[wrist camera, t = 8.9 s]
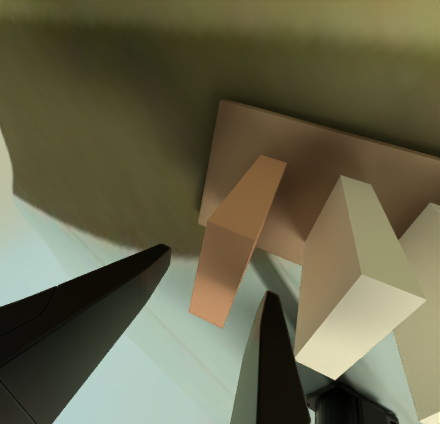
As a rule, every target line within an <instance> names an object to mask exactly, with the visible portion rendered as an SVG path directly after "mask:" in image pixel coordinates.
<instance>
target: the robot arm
mask: <svg viewBox="0 0 440 424" xmlns="http://www.w3.org/2000/svg"><path fill="white" fill-rule="evenodd" d="M170 260H171V247H169V246H167V245H164V244H158V245H156V246H153V247H151V248H149V249H146V250H144V251H141V252H139V253H136V254H134V255H131V256H129V257H126V258H124V259H121V260H119V261H116V262H114V263H111V264H109V265H107V266H104V267H102V268H99V269H97V270H94V271H92V272H89V273H87V274H84V275H82V276H79V277H77V278H74V279H72V280H70V281H67V282H65V283H62V284H60V285H58V287H57V286H55V287H52V288H50V289H47V290H45V291H42V292H40V293H37V294H34V295H32V296H29V297H26V298H24V299H21V300H19V301H16V302H13V303H10V304H7V305H4V306H1V307H0V424H52V423H53V422H54V421H55V419H56V418H57V417H58V416H59V414H60V413H61V412H62V410H63V409H64V408H65V407H66V405H67V404H68V403H69V401H70V400H71V399H72V398H73V396H74V395H75V394H76V393H77V391H78V390H79V389H80V387H81V386H82V385H83V383H84V382H85V381H86V380H87V378H88V377H89V376H90V375H91V373H92V372H93V371H94V370H95V368H96V367H97V366H98V364H99V363H100V362H101V361H102V359H103V358H104V357H105V355H106V354H107V353H108V352H109V350H110V349H111V348H112V347H113V345H114V344H115V342H116V341H117V340H118V339H119V337H120V336H121V335H122V334H123V332H124V331H125V330H126V329H127V327H128V326H129V325H130V324H131V322H132V321H133V320H134V318H135V317H136V316H137V315H138V313H139V312H140V311H141V309H142V308H143V307H144V305H145V304H146V303H147V301H148V300H149V298H150V297H151V295H152V293H153V292H154V290H155V289H156V287H157V285H158V284H159V282H160V281H161V279H162V277H163V276H164V274H165V272H166V271H167V269H168V267H169V265H170ZM308 408H310V409H311V410H313V411H314V412H315V424H399V421H398V418H397V417H395V416H394V415H392V414H390V413H389V412H387V411H386V410H384V409H382V408H381V407H379V406H377V405H376V404H374V403H373V402H371V401H369V400H368V399H366V398H364V397H363V396H361V395H359V394H358V393H356V392H355V391H353V390H351V389H350V388H348V387H346V386H345V385H343V384H341V383H338V382H336V383H333V384H331V385H329V386H327V387H325V388H323V389H321V390H319V391H317V392H315V393H312V394H310V395H308V396H306V397H305V395H304V391H303V387H302V383H301V379H300V375H299V371H298V368H297V364H296V360H295V356H294V352H293V348H292V344H291V340H290V337H289V333H288V329H287V325H286V321H285V317H284V313H283V309H282V306H281V302H280V298H279V295H278V294H276V293H274V292H271V291H269V290H268V291H266V293H265V295H264V297H263V299H262V301H261V303H260V305H259V307H258V310H257V313H256V316H255V320H254V323H253V326H252V329H251V332H250V335H249V338H248V342H247V345H246V348H245V352H244V356H243V360H242V366H241V371H240V376H239V381H238V386H237V391H236V396H235V401H234V407H233V412H232V417H231V422H230V424H310V423H311V418H310V414H309V410H308Z"/></svg>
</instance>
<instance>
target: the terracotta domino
mask: <svg viewBox="0 0 440 424" xmlns="http://www.w3.org/2000/svg"><path fill="white" fill-rule="evenodd" d="M286 164H287V163H286V162H283V161H280V160H276V159H273V158H270V157H267V156H264V155H260V157H259V158H258V159H257V160H256V161H255V163H254V164H253V165H252V166H251V168H250V169H249V170H248V171H247V173H246V174H245V175H244V176H243V177H242V179H241V180H240V181H239V182H238V184H237V185H236V186H235V187H234V189H233V190H232V191H231V192H230V193H229V195H228V196H227V197H226V198H225V200H224V201H223V202H222V203H221V205H220V206H219V207H218V208H217V209H216V211H215V212H214V213H213V214H212V216H211V217H210V218H209V219H208V221H207V224H206V229H205V234H204V239H203V244H202V249H201V254H200V259H199V264H198V269H197V273H196V278H195V283H194V288H193V293H192V298H191V303H190V308H189V312H190V313H192V314H194V315H196V316H198V317H200V318H202V319H204V320H206V321H208V322H210V323H212V324H214V325H216V326H218V327H220V328H223V326H224V323H225V321H226V318H227V316H228V313H229V311H230V308H231V306H232V303H233V301H234V298H235V296H236V293H237V291H238V288H239V286H240V283H241V281H242V278H243V275H244V273H245V270H246V268H247V265H248V263H249V260H250V258H251V255H252V253H253V250H254V248H255V245H256V243H257V240H258V238H259V235H260V233H261V230H262V228H263V225H264V222H265V220H266V217H267V214H268V212H269V209H270V207H271V204H272V201H273V199H274V196H275V193H276V191H277V188H278V186H279V183H280V180H281V178H282V175H283V172H284V170H285V167H286Z"/></svg>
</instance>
